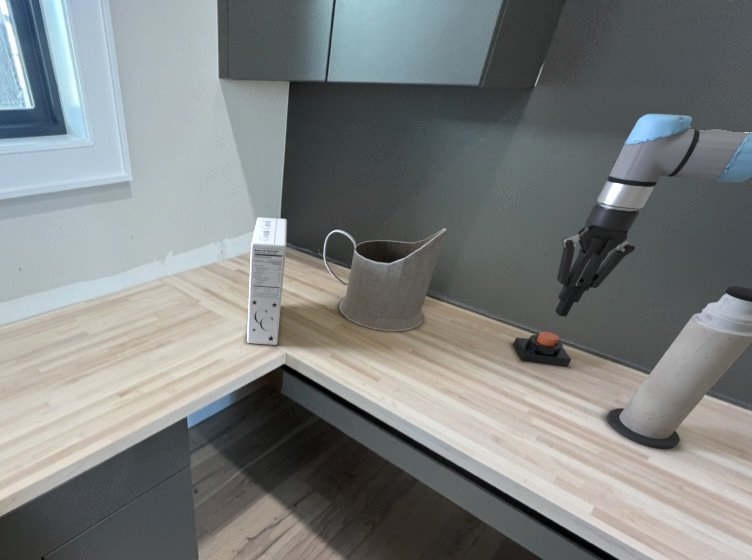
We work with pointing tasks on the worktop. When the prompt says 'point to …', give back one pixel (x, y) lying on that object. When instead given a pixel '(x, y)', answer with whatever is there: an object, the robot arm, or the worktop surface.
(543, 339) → the lid button
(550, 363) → the button block
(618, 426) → the coaster
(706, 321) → the thermos bottle
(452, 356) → the worktop surface
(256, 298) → the cereal box
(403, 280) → the pitcher
